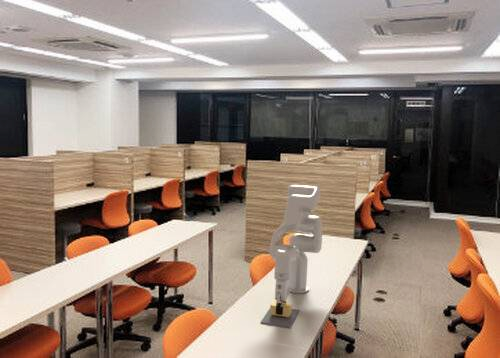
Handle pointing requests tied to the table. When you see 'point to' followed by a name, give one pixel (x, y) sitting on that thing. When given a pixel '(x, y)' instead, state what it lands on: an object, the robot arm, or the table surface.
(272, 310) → the box
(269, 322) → the mat
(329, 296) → the table surface
